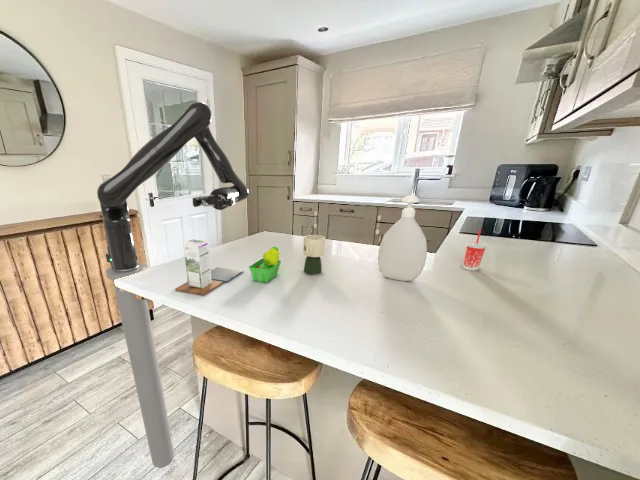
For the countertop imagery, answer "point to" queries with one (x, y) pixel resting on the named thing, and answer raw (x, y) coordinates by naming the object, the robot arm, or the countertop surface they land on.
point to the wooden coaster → (199, 290)
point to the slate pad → (224, 274)
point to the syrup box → (197, 263)
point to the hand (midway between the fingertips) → (206, 203)
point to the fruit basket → (266, 266)
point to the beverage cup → (474, 254)
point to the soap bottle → (403, 247)
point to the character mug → (313, 253)
